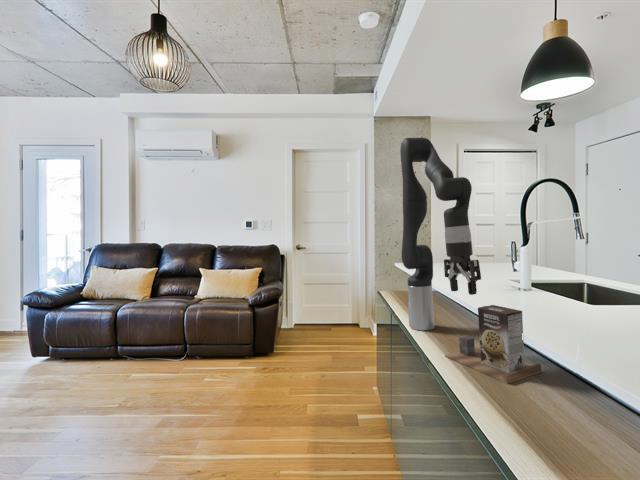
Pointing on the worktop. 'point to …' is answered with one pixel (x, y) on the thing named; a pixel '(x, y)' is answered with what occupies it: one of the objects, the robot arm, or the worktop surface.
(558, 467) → the worktop surface
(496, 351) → the brown boxy piece
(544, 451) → the worktop surface
